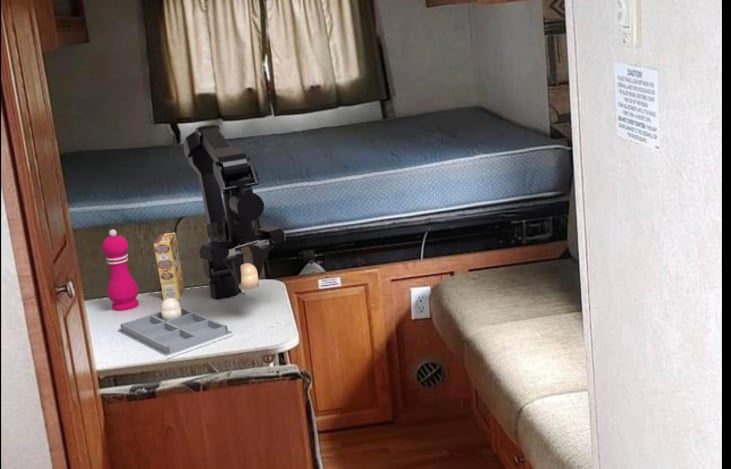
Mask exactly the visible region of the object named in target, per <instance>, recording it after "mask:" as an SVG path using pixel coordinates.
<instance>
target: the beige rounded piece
mask: <svg viewBox="0 0 731 469" xmlns="http://www.w3.org/2000/svg"><path fill="white" fill-rule="evenodd" d="M259 280H260V279H259V278H258V273H257V269H256V267H255V266H254V265H253V263H250V262H249V263H248V262H245V263H243V264H242V265H241V284H239V289H241V291H242V290H243V291H244V290H245V291H248V290H253V289H257V288H258V287H259V286H260V281H259Z"/></svg>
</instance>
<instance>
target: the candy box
mask: <svg viewBox="0 0 731 469" xmlns="http://www.w3.org/2000/svg"><path fill="white" fill-rule="evenodd" d="M177 241H178V240H177V236H176V232H168V233H167V232H166V233H161V234H160V233H159V236H158V237H157V239H156V240H155V242H154V243H153V246H154V253H155V259H156V265H157V270H158V275H159V281H160V286H161V288H160V289H161V294H162V298H163V301H164V300H165V299H167V298H174V299H176V300H180V299H181V297H182V295H183V292H184V290H185V283H184V277H183V271H182V265H181V264H182V263H181V259H180V252H179V248H178V242H177Z"/></svg>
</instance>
